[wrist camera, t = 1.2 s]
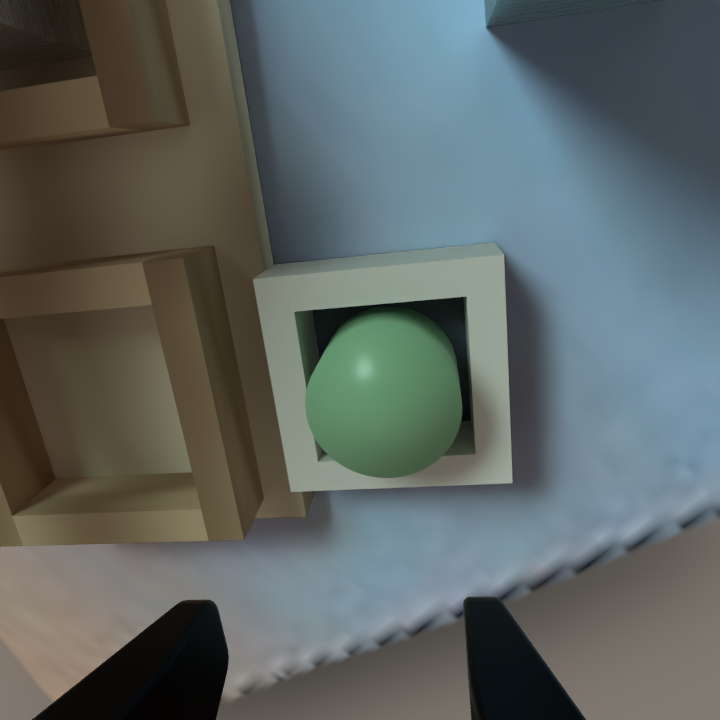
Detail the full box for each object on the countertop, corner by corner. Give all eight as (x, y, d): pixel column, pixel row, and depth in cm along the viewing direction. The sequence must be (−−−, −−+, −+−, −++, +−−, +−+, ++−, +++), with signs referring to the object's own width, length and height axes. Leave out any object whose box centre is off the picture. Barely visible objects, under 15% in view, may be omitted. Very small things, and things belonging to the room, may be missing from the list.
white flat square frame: (495, 242, 15) (504, 254, 13) (503, 446, 17) (512, 483, 15) (273, 264, 16) (252, 278, 14) (305, 456, 18) (290, 492, 16)
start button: (453, 299, 15) (457, 327, 12) (461, 427, 16) (466, 474, 13) (315, 312, 15) (294, 340, 13) (333, 434, 16) (316, 481, 14)
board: (184, -273, 12) (111, -399, 9) (312, 498, 18) (291, 560, 16) (-211, -174, 14) (-376, -258, 11) (29, 509, 20) (-37, 567, 17)
